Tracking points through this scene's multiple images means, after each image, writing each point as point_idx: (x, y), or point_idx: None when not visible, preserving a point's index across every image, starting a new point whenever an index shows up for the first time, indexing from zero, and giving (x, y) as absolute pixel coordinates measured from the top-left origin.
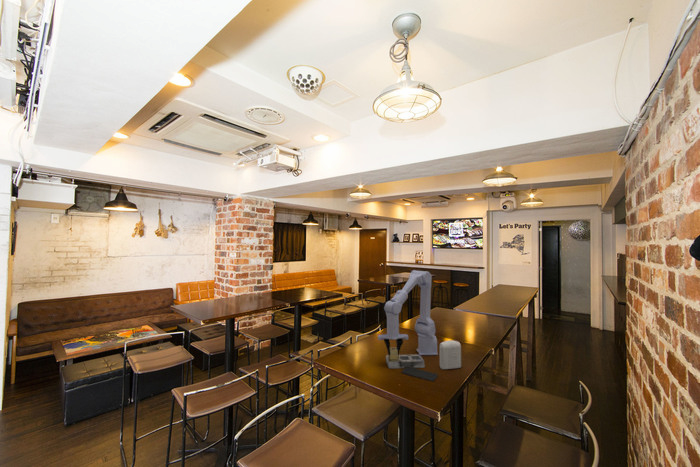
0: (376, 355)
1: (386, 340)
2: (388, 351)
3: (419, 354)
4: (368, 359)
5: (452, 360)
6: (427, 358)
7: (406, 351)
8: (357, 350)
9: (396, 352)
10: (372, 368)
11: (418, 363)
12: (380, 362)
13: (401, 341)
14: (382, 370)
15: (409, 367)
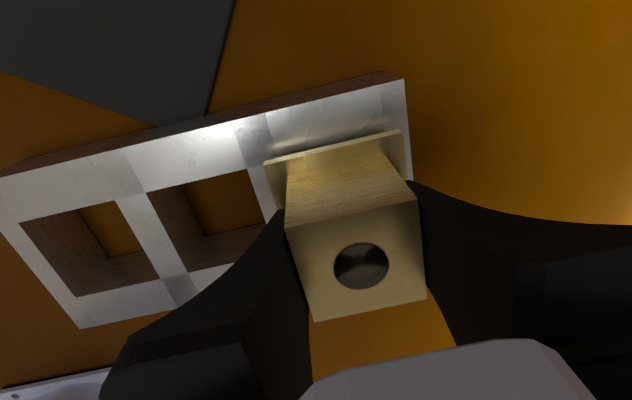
0: None
1: (626, 358)
2: (438, 192)
3: (80, 328)
4: None
5: None
6: (59, 329)
7: None
8: None
9: (305, 205)
10: (557, 40)
11: (50, 159)
12: (453, 193)
13: (136, 374)
14: (455, 5)
15: (163, 113)
